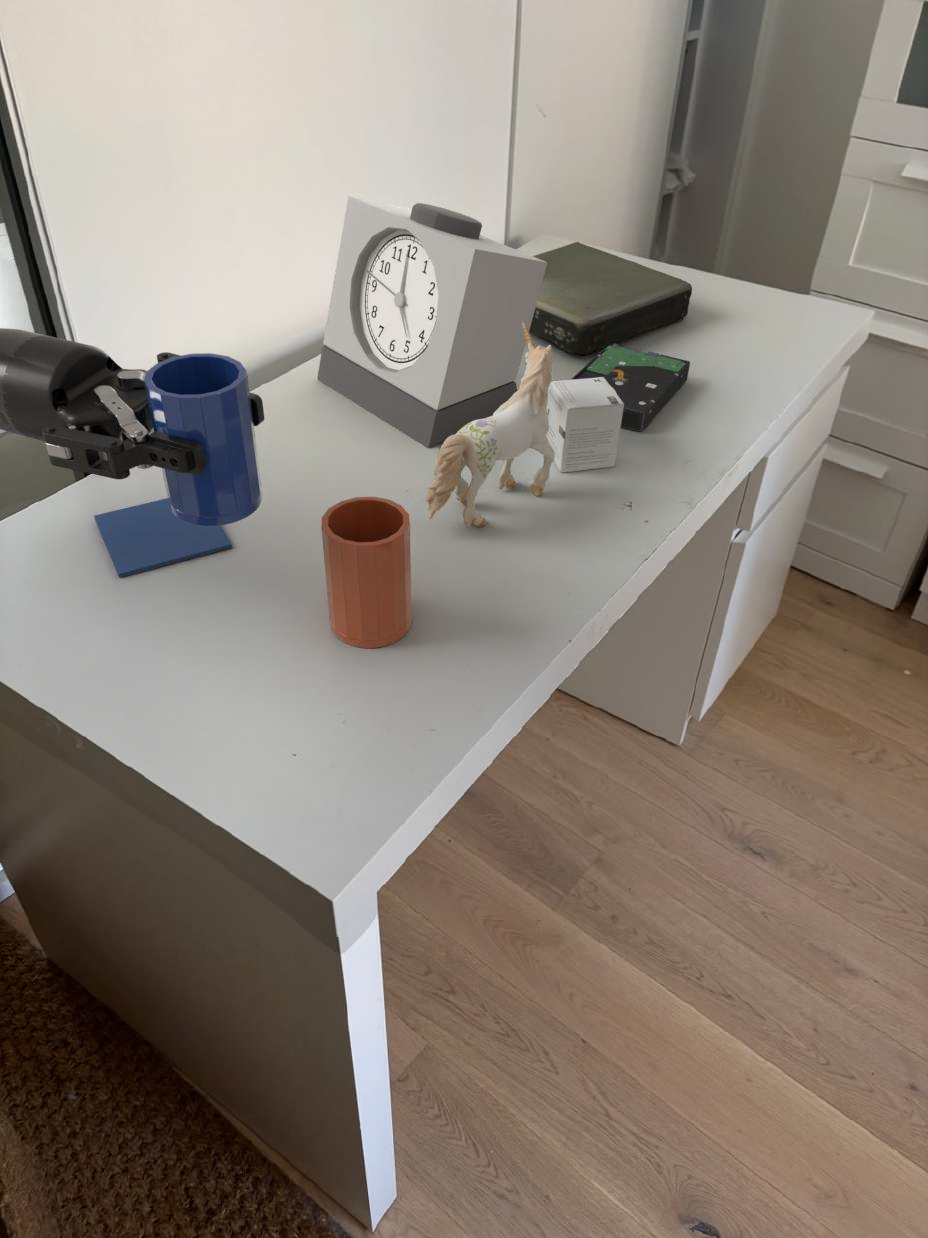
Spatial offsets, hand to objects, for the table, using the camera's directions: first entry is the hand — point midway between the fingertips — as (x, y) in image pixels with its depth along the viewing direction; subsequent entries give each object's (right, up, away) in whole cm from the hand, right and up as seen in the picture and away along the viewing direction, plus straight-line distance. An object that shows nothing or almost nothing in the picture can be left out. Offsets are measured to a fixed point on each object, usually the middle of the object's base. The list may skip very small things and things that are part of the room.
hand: (232, 434), depth 66 cm
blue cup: (-2, -4, +4) cm, 6 cm away
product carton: (+28, +4, +34) cm, 44 cm away
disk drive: (+34, +13, +45) cm, 58 cm away
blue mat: (-12, -5, +22) cm, 25 cm away
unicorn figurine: (+18, 0, +29) cm, 34 cm away
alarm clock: (+12, +13, +45) cm, 48 cm away
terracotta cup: (+8, -13, +13) cm, 20 cm away
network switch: (+31, +28, +62) cm, 75 cm away
